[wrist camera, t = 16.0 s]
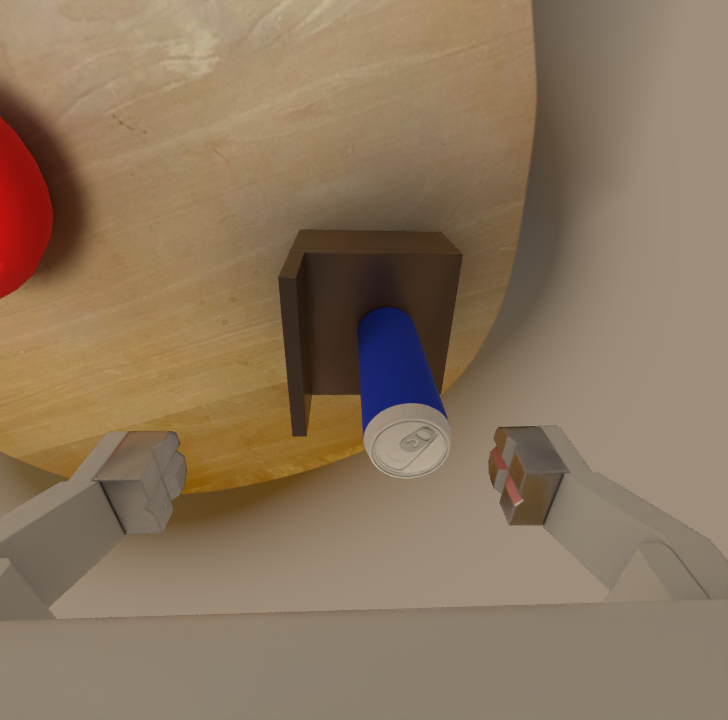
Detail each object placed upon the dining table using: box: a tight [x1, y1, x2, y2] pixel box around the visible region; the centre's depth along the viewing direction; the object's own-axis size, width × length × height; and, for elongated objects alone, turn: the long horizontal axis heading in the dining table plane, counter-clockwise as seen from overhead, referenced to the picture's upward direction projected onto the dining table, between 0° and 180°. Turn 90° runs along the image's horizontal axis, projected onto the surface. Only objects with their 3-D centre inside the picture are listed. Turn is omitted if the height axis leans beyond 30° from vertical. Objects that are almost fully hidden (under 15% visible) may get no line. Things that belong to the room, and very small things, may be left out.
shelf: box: [278, 230, 463, 436], centre depth 36 cm, size 14×14×14 cm
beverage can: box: [357, 307, 451, 478], centre depth 28 cm, size 5×5×15 cm
